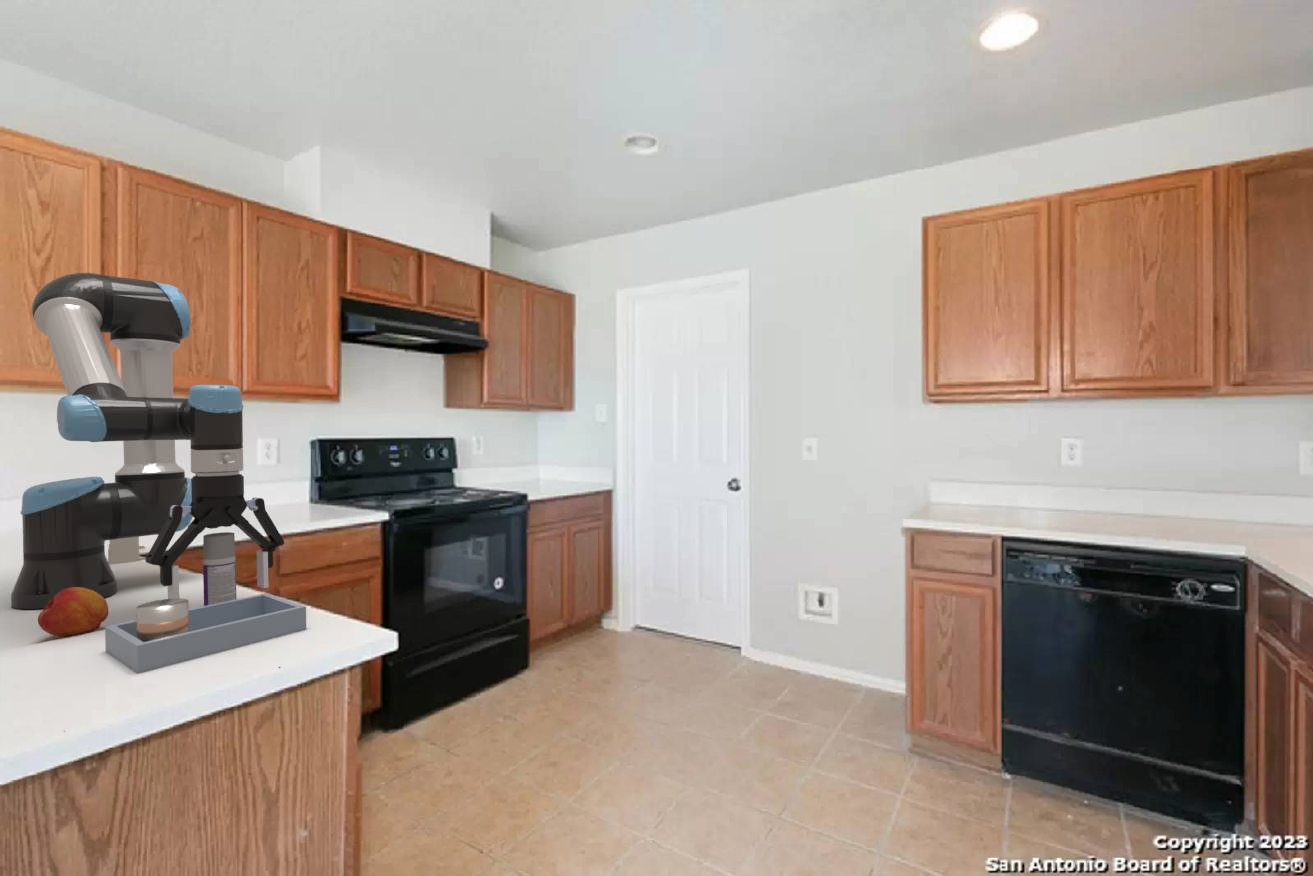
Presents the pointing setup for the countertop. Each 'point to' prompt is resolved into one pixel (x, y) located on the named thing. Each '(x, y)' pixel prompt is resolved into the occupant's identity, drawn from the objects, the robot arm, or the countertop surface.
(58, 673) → the countertop surface
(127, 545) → the architectural model
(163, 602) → the tin
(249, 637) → the tray
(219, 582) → the container
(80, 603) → the fruit
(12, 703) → the countertop surface
